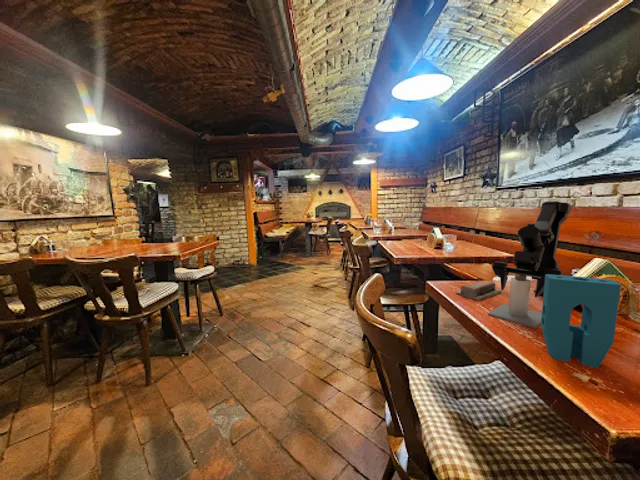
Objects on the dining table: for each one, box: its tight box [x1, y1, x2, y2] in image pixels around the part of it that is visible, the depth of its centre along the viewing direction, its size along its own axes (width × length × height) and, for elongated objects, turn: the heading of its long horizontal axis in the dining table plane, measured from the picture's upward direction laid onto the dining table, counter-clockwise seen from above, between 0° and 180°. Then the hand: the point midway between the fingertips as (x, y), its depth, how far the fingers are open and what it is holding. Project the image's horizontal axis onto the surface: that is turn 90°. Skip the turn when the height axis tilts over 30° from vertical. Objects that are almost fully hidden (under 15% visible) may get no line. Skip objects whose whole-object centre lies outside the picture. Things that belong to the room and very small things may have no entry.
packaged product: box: [455, 280, 503, 301], centre depth 109 cm, size 18×5×10 cm
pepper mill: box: [508, 273, 531, 317], centre depth 85 cm, size 5×5×14 cm
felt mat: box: [487, 303, 542, 329], centre depth 86 cm, size 14×13×1 cm
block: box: [540, 274, 622, 368], centre depth 61 cm, size 12×5×20 cm, turn 61°
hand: (518, 292), depth 84 cm, fingers open, 9 cm apart
